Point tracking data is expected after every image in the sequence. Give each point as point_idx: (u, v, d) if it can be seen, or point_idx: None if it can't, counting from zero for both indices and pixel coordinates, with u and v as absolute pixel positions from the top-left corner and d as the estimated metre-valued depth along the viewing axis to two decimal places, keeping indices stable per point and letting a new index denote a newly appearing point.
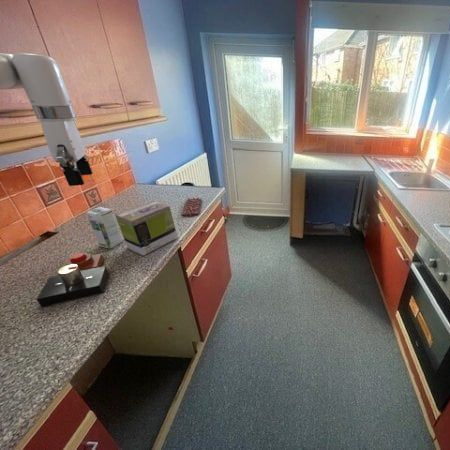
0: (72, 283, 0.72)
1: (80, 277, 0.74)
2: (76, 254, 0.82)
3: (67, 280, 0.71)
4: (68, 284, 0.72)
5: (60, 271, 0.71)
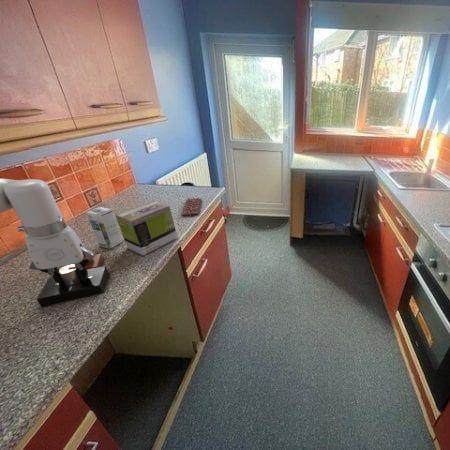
0: (72, 283, 0.72)
1: None
2: None
3: (67, 280, 0.71)
4: (68, 284, 0.72)
5: (60, 271, 0.71)
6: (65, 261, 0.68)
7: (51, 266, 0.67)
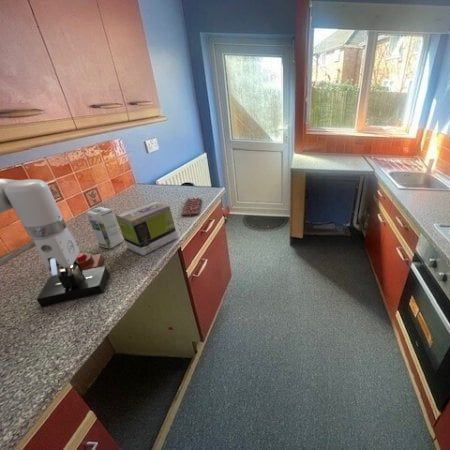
0: (82, 276, 0.75)
1: None
2: None
3: (80, 274, 0.74)
4: (82, 279, 0.74)
5: None
6: (76, 252, 0.72)
7: (73, 260, 0.70)
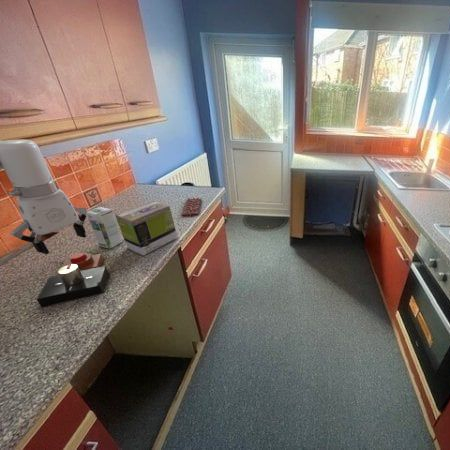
0: (82, 276, 0.75)
1: None
2: (76, 254, 0.82)
3: (80, 274, 0.74)
4: (82, 279, 0.74)
5: (69, 271, 0.71)
6: (65, 222, 0.70)
7: (53, 229, 0.68)
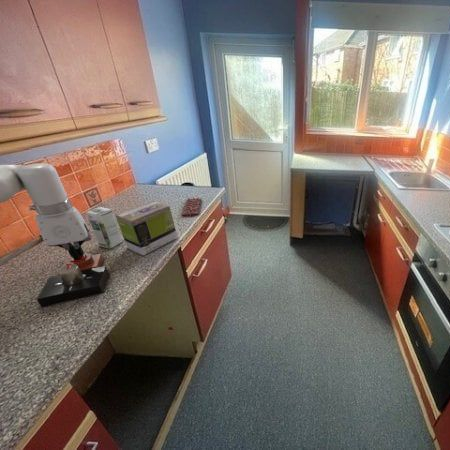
0: (82, 276, 0.75)
1: None
2: None
3: (80, 274, 0.74)
4: (82, 279, 0.74)
5: (69, 271, 0.71)
6: (71, 238, 0.76)
7: (58, 242, 0.75)
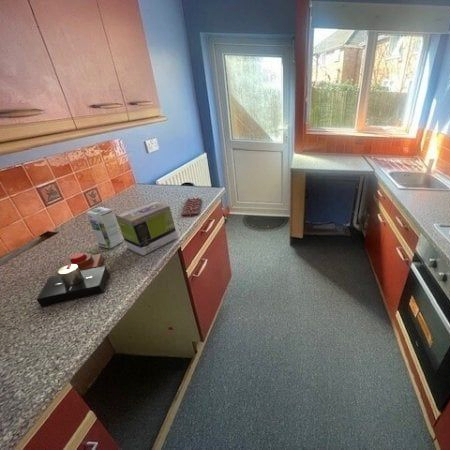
0: (82, 276, 0.75)
1: None
2: (76, 254, 0.82)
3: (80, 274, 0.74)
4: (82, 279, 0.74)
5: (69, 271, 0.71)
6: None
7: None
